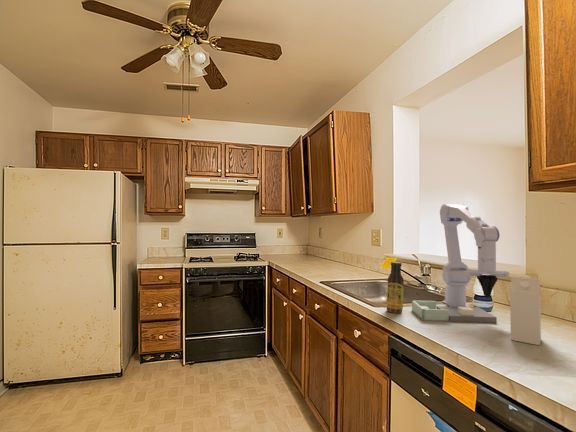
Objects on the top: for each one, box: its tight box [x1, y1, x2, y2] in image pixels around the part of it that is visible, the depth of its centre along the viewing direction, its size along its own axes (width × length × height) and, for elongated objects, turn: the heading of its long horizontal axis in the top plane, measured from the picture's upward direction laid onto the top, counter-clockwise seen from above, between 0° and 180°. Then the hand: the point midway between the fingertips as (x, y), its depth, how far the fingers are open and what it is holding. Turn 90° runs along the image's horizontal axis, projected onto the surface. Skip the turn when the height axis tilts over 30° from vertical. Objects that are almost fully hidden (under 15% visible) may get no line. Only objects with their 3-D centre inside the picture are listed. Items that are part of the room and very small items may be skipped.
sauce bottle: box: [386, 261, 404, 314], centre depth 132 cm, size 7×6×20 cm
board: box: [436, 305, 497, 324], centre depth 125 cm, size 14×16×2 cm
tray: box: [411, 300, 450, 322], centre depth 127 cm, size 14×9×4 cm, turn 174°
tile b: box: [458, 306, 474, 315], centre depth 122 cm, size 4×4×2 cm
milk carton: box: [509, 275, 542, 346], centre depth 101 cm, size 7×7×19 cm
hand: (487, 296), depth 121 cm, fingers closed
